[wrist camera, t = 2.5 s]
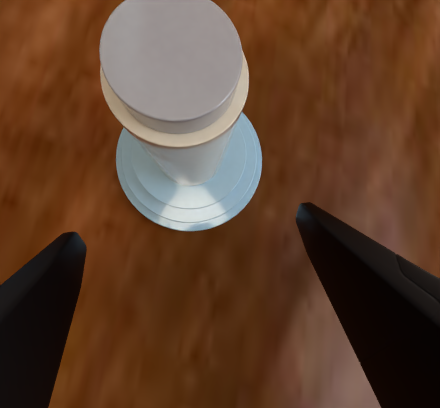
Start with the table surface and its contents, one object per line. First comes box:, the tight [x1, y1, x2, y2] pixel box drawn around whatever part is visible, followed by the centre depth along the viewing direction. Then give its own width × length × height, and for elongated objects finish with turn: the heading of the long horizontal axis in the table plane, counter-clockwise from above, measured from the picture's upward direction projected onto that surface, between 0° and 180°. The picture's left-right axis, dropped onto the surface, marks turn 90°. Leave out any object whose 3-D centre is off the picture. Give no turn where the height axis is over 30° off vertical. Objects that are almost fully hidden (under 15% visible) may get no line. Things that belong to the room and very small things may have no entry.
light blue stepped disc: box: [116, 112, 262, 231], centre depth 20 cm, size 14×14×3 cm
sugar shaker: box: [99, 0, 249, 186], centre depth 13 cm, size 6×6×11 cm
